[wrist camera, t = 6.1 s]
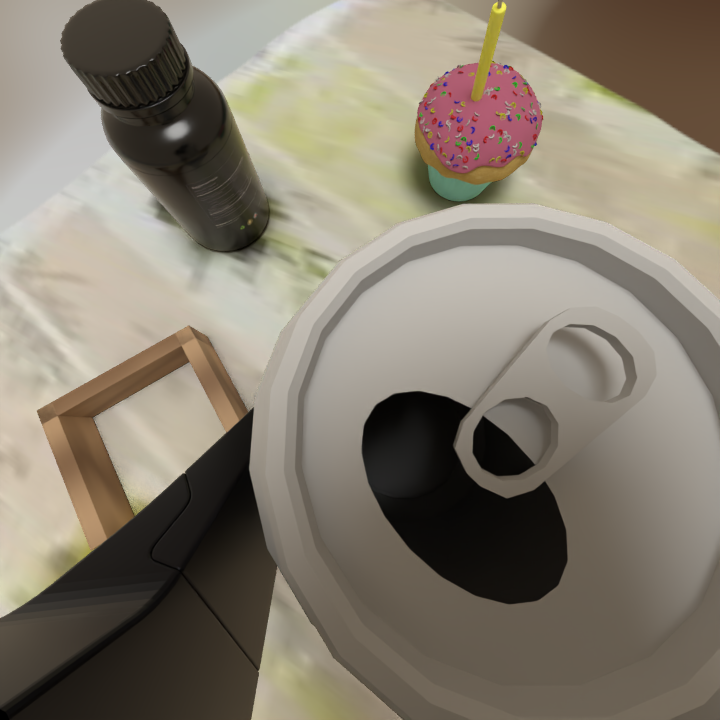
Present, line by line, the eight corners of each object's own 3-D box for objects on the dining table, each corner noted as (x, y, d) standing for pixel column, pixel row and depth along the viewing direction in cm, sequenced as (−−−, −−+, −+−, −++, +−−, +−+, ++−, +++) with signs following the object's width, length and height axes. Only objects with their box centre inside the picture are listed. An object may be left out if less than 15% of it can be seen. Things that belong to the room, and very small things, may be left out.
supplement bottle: (170, 223, 25) (-1, 40, 13) (228, 168, 26) (120, -46, 14) (231, 271, 24) (105, 118, 12) (289, 211, 25) (225, 20, 13)
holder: (266, 445, 21) (253, 447, 18) (124, 535, 20) (90, 550, 17) (207, 336, 23) (188, 325, 20) (73, 412, 21) (36, 410, 19)
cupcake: (455, 240, 24) (541, 64, 13) (384, 172, 26) (403, -42, 14) (529, 180, 26) (670, -30, 14) (457, 119, 27) (530, -118, 15)
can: (293, 433, 15) (48, 431, 3) (398, 329, 16) (489, 62, 5) (405, 554, 14) (654, 1246, 2) (510, 432, 15) (1041, 427, 3)
